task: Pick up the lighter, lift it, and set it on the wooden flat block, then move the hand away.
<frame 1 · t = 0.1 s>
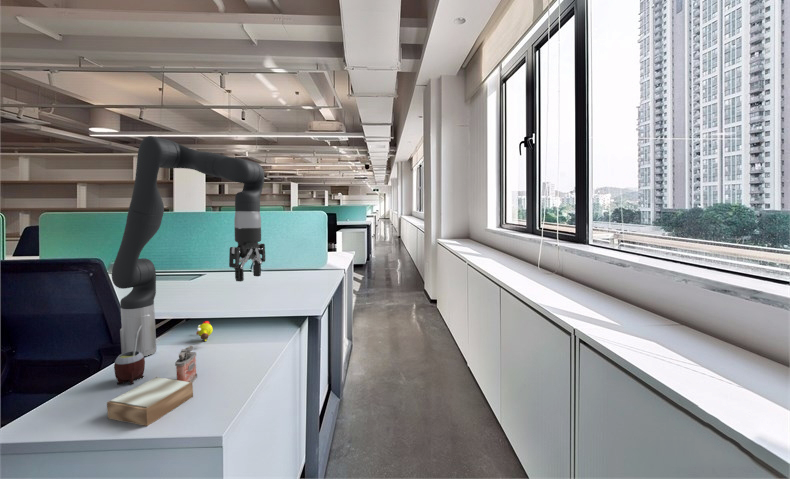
hand: (248, 278, 106), 29 cm above the table, tool pointing down, fingers open, 8 cm apart
wooden flat block: (152, 406, 87), on the table
toy figure: (205, 341, 132), on the table
lighter: (187, 383, 100), on the table
mate gourd: (131, 380, 101), on the table
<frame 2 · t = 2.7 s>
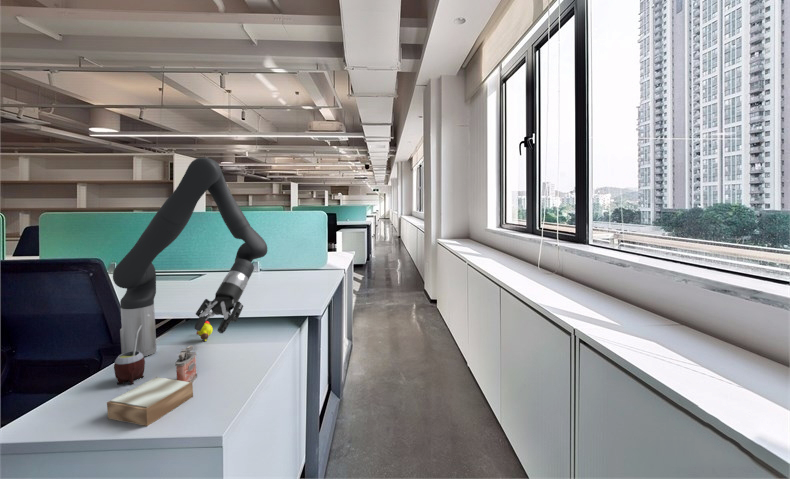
hand: (208, 331, 107), 12 cm above the table, tool tilted 45°, fingers open, 8 cm apart
nothing on the table moved.
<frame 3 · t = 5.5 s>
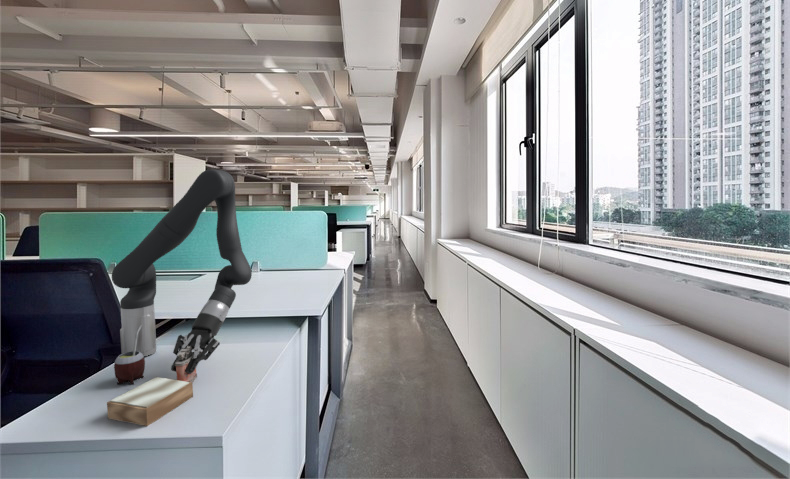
hand: (180, 371, 98), 4 cm above the table, tool tilted 45°, fingers closed on lighter, 4 cm apart
lighter: (187, 382, 100), on the table, touching gripper
everything else where it was.
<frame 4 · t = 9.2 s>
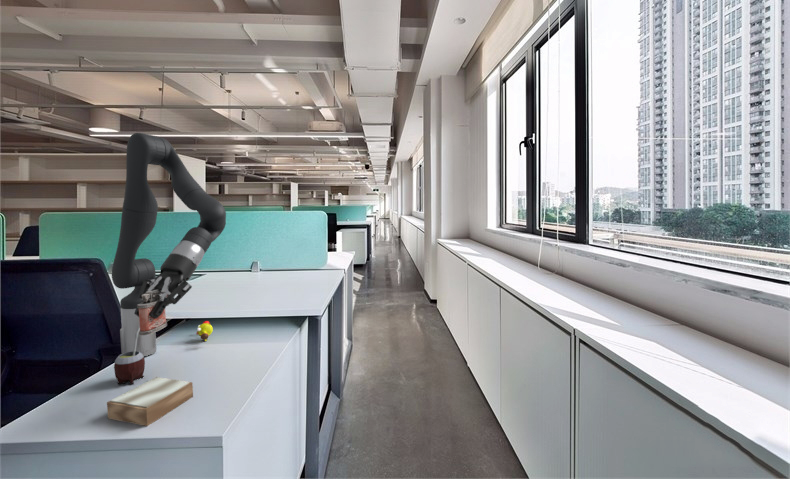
hand: (145, 316, 85), 24 cm above the table, tool tilted 45°, fingers closed on lighter, 4 cm apart
lighter: (153, 330, 87), point 20 cm above the table, touching gripper
everything else where it was.
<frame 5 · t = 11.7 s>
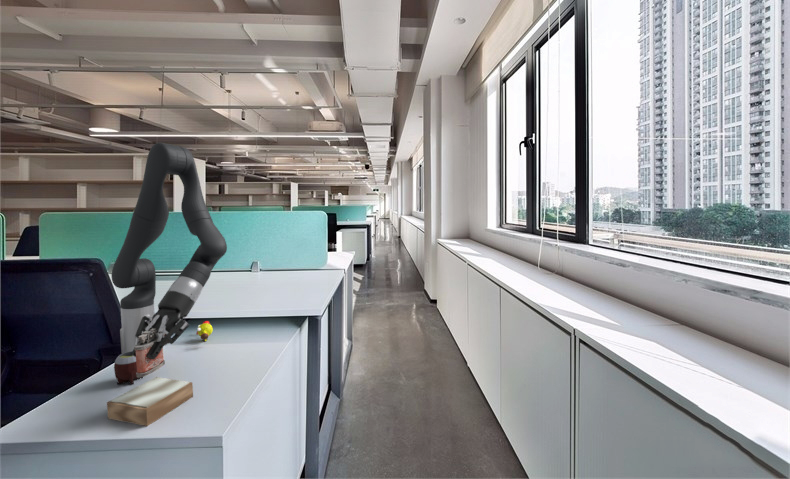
hand: (142, 357, 84), 14 cm above the table, tool tilted 45°, fingers closed on lighter, 4 cm apart
lighter: (151, 370, 86), point 10 cm above the table, touching gripper
everything else where it was.
when the fingers open (9 cm above the table, at t = 13.2 s): lighter stays where it is, resting on wooden flat block.
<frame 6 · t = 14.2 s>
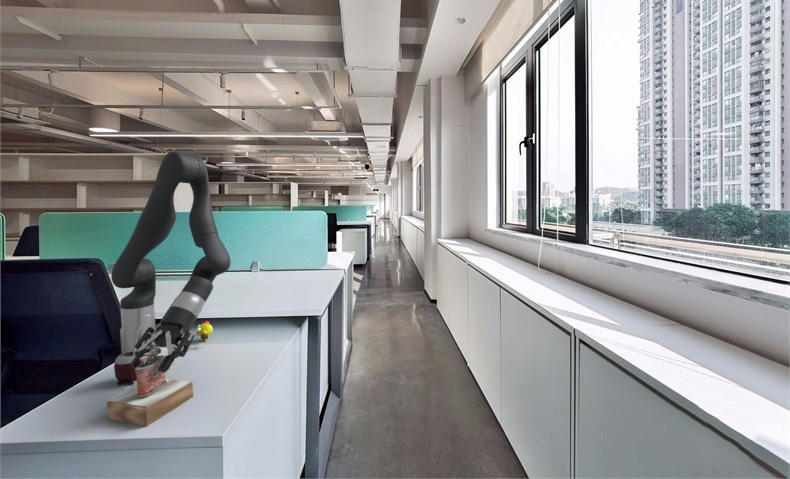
hand: (147, 369, 86), 10 cm above the table, tool tilted 45°, fingers open, 8 cm apart
lighter: (152, 391, 87), point 4 cm above the table, touching wooden flat block
everything else where it was.
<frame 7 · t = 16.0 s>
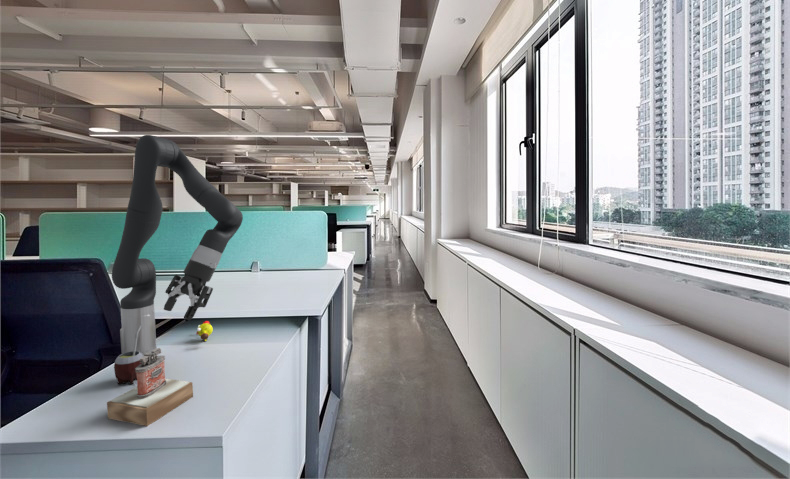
hand: (176, 314, 99), 20 cm above the table, tool tilted 30°, fingers open, 8 cm apart
nothing on the table moved.
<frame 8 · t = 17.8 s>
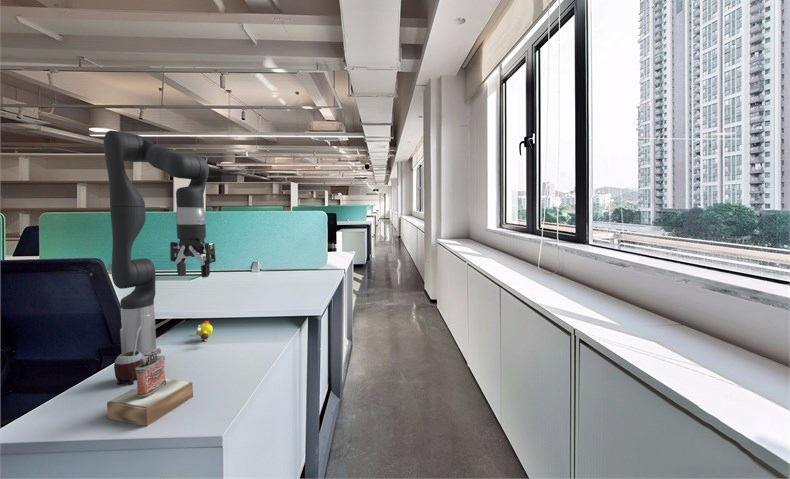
hand: (193, 276, 104), 30 cm above the table, tool pointing down, fingers open, 8 cm apart
nothing on the table moved.
at the end: lighter inside the target area on the wooden flat block (0.1 cm from its centre), point 4.1 cm above the wooden flat block's base; lighter tilted 0°; the gripper is holding nothing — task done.
